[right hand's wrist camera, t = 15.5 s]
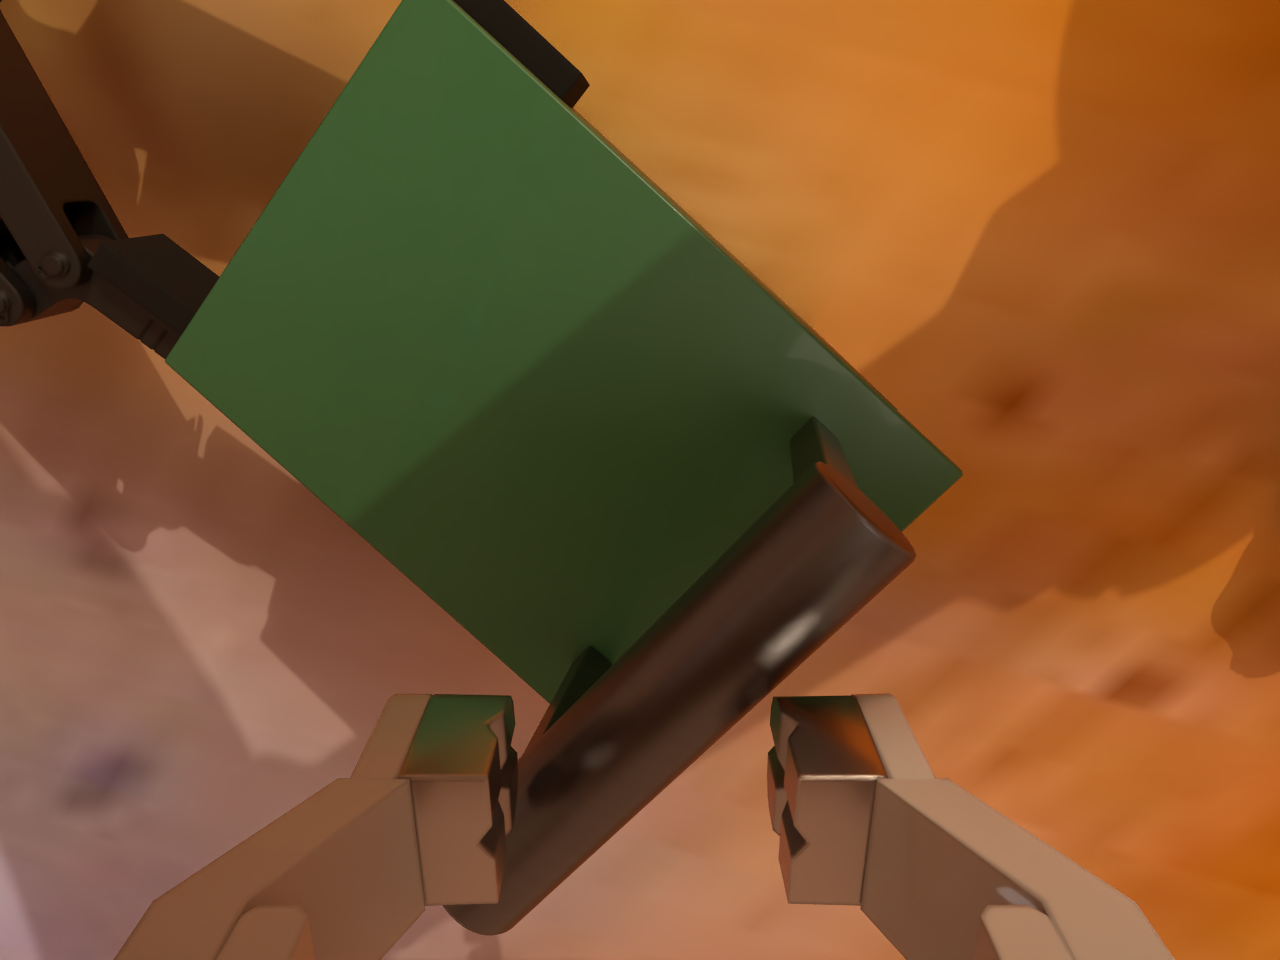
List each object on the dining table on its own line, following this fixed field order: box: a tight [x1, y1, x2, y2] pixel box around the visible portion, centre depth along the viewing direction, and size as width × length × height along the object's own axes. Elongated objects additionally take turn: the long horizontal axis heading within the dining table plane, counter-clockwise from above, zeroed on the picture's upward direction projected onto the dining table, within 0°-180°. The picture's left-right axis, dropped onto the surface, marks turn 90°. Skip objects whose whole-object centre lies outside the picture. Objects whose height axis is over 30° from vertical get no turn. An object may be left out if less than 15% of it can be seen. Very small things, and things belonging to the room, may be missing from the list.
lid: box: [165, 0, 963, 935], centre depth 14 cm, size 14×10×8 cm
